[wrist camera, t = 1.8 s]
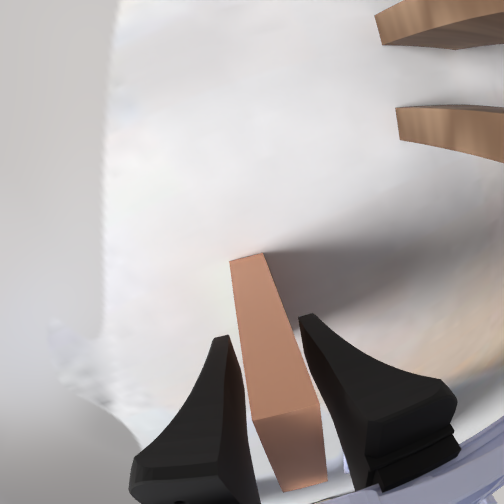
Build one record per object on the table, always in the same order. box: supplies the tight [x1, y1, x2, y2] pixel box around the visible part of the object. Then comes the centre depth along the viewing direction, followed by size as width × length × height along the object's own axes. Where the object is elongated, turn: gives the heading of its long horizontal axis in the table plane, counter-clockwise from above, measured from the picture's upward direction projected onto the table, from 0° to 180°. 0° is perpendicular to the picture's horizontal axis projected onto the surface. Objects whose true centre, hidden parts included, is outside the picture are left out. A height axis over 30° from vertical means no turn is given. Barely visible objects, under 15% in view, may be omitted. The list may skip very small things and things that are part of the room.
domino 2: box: [395, 105, 504, 163], centre depth 9 cm, size 2×5×9 cm, turn 102°
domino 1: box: [375, 0, 504, 50], centre depth 7 cm, size 2×5×9 cm, turn 102°
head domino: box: [229, 253, 328, 492], centre depth 12 cm, size 2×5×9 cm, turn 12°
